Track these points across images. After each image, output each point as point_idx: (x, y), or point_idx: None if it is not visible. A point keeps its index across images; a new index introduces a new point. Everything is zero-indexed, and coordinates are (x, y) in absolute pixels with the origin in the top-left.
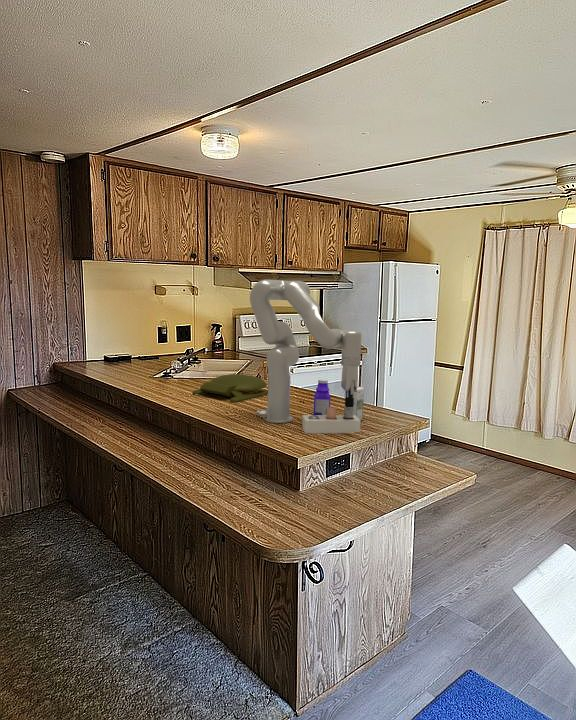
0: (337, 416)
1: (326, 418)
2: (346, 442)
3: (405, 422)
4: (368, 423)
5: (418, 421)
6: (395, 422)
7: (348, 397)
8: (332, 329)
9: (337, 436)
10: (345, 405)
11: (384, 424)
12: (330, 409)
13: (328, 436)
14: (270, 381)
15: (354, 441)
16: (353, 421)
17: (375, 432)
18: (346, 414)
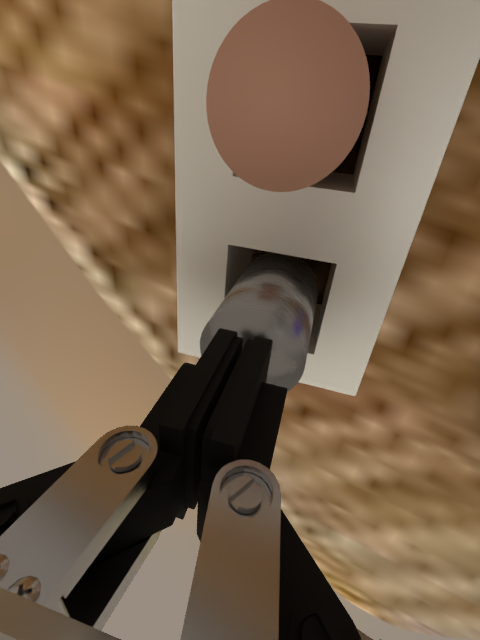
0: (359, 219)
1: (387, 60)
2: (20, 148)
3: (372, 568)
4: (417, 445)
5: (371, 602)
6: (387, 544)
7: (121, 446)
8: None
9: (138, 123)
10: (225, 336)
11: (366, 493)
12: (214, 60)
13: (132, 34)
14: None
15: (50, 208)
16: (179, 302)
17: None
18: (231, 290)
